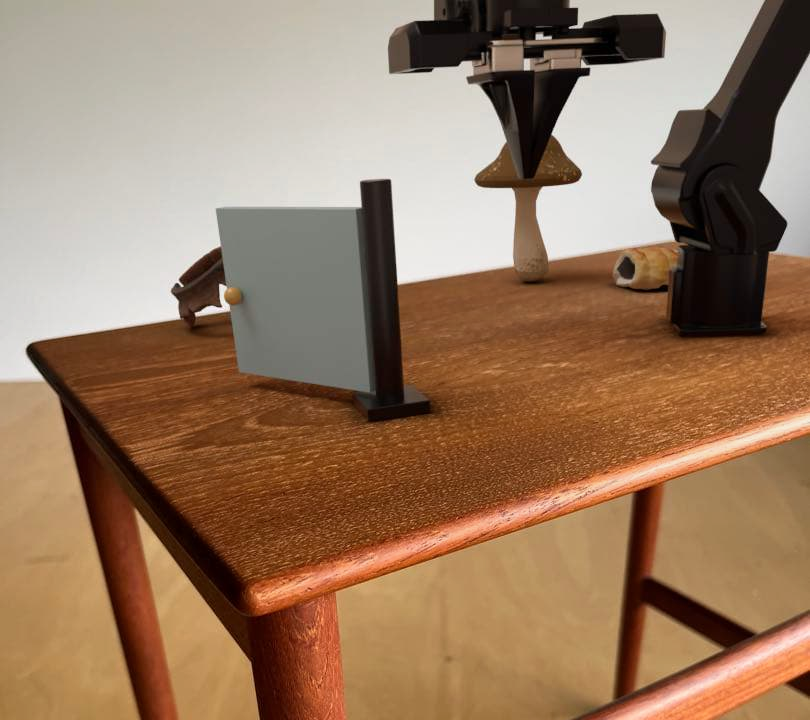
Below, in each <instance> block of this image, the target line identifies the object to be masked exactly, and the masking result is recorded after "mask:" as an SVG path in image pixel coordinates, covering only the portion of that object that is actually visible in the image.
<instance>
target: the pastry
mask: <svg viewBox="0 0 810 720" xmlns="http://www.w3.org/2000/svg"><path fill="white" fill-rule="evenodd" d="M677 259H678V249H674V248H667V247H663V246H661V245H656V246H653V247H641V248H636V247H629V248H624V250H621V251H620V253H619V257H618V259H617V260H616V262H615V264H614V268H613V269H612V271H613V272H612V278H613V279H614V281H615V285H616V286H618V287H620V288H627V287H628V288H631V289H633V290H640V289H641V290H645V291H649V290H652V289H659V288H660V287H661V286H663V285H664V286H665V285H667V286H668V283H669V268H670V267H671V266H672V265H677Z"/></svg>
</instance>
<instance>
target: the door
mask: <svg viewBox="0 0 810 720" xmlns="http://www.w3.org/2000/svg"><path fill="white" fill-rule="evenodd" d="M215 215H216V221H217V228H218V236H219V242H220V246H221V250H222V257H223V264H224V271H225V278H226V285H227V286H226V290H225V291H224V293H223V299H224V301H225V303H226V304H228V305H229V312H230V320H231V325H232V332H233V340H234V347H235V356H236V362H237V368H238V373H240V374H247V375H253V376H260V377H266V378H271V379H272V378H273V379H279V380H286V381H290V382H291V381H292V382H298V383H305V384H311V385H317V386H323V387H330V388H336V389H343V390H349V391H356V392H369V393H371V392H373V391H375V377H374V364H373V351H372V338H371V325H370V311H369V298H368V285H367V272H366V259H365V246H364V232H363V219H362V206H222V207H216V208H215Z"/></svg>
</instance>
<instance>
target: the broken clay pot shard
mask: <svg viewBox="0 0 810 720" xmlns="http://www.w3.org/2000/svg"><path fill="white" fill-rule="evenodd" d="M178 281H179V283H178V282H175V283H174V285H173V286H172V287H171V289H170V293H171V295H172V296H174V298H175V299H176V300H177V301H178V304H177V305H178V306H177V308H178V315H179V320H182V319H183V322H184V323H185V324H187V326H189V328H194V327H195V324H196V320H197V319H196V317H197V316H196V314H197V313H200V312H202V311H203V310H205V309H206V308H208V307H215V308H221V309H222V308H223V304H222V303H221V293H220V285H222V286H225V287H227V285H226V278H225V271H224V264H223V257H222V250H221V245H220V246H218V247H216V248H213V249H212V250H210V251H209V252H207V253H205V254H204V255H203V256H202V257H200V258H199V259H198V260H196V261H195V262H194V263H193V264H192V265H191V266H190V267H189V268H188V269H187V270H185V272H183V273H182V274H181V276H180V277H179V278H178ZM181 285H182V286H181Z"/></svg>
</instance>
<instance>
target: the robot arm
mask: <svg viewBox="0 0 810 720" xmlns="http://www.w3.org/2000/svg"><path fill="white" fill-rule="evenodd" d="M570 3H571V0H433V19H432V20H430V19H429V20H414V21H411V22H407V23H406V24H403V25H400V26H397V27H396V28H395V29H394V30H393V32H392V33H391V34H390V36H389V40H388V45H387V56H388V59H387V60H388V74H389V75H404V74H405V75H408V74H409V75H410V74H428V73H432V72H433V71H434V70H435V69H441V68H443V69H444V68H457V67H460V65H461V64H462V63H464V62H466V63H467V62H471V67H472V72H473V74H472V75H468V76H466V79H465V80H466V83H467V84H468V85H477V86H479V88H480V89H481V90H482V91H483V92H484V94H485V95H486V97H488V99H489V101H490V103H491V105H492V107H493V109H494V111H495V114H496V116H497V118H498V120H499V122H500V123H499V124H500V126H501V129H502V131H503V134H504V135H503V136H504V138H505V142H507V144H508V147H509V150H510V153H511V156H512V159H513V162H514V166H515V169H516V172H517V175H518V177H519V179H523V180H525V179H533V178H534V177H535V174H536V172H537V169H538V167H539V164H540V162H541V159H542V157H543V154H544V152H545V149H546V147H547V144H548V142H549V139H550V137H551V134H552V135H553V132H554V129H555V127H556V124H557V122H558V120H559V117H560V115H561V114H562V111H563V109H564V107H565V106H566V103H567V102H568V100H569V98H570V96H571V95H572V92H573V90H574V88H575V87H576V84H577V83H578V81H579V79H580V78H584V77H589V76H590V75H591V67H582V62H583V63H584V64H585V66H606V65H607V66H609V65H625V64H632V63H639V62H645V61H654V60H660V59H665V54H666V39H667V31H666V28H665V26H664V24H663V21H662V20H661V18H660V16H659V14H658V13H636V14H635V13H633V14H631V13H630V14H629V13H628V14H612V15H608V16H603V17H600V18H596V19H592V20H587V21H584V22H583V24H582V27H575V26H578V25H579V7H570V6H571V5H570ZM573 27H574V28H573ZM537 35H542V37H543V38H547V39H537ZM809 56H810V0H764V1H763V3H762V5H761V6H760V8H759V10H758V12H757V14H756V17H755V19H754V20H753V22H752V24H751V27H750V29H749V30H748V32H747V35H746V36H745V38H744V40H743V42H742V44H741V45H740V48H739V50H738V52H737V54H736V56H735V57H734V60H733V61H732V63H731V66H730V68H729V69H728V72H727V73H726V75H725V77H724V79H723V81H722V83H721V85H720V87H719V89H718V90H717V92H716V93H715V95H713V97H712V98H711V100H710V101H709V102H707V104H706V105H705V106H704V107H703V108H699V109H698V108H697V109H696V108H695V109H680V110H678V111H677V113H676V114H675V116H674V118H673V121H672V123H671V127H670V130H669V132H668V135H667V138H666V140H665V143H664V144H663V146H662V148H661V149H660V151H659V152H658V153H657V154H656V155H655V156H654V157H653V158H652V159H651V160H650V164H651V165H654V166H657V167H656V169H655V171H654V175H653V177H652V179H651V185H650V192H651V195H652V199H653V203H654V206H655V208H656V210H657V211H658V212H659V214H660V216H661V217H663V218H664V219H665V220H667V221H668V222H669V224H670V228H671V232H672V235H673V238H674V241H675V242H676V243H679V244H680V243H681V244H682V245H678V246H677V250H678V259H677V265H672V266H671V267H670V268H669V283H668V285H667V299H666V312H665V316H666V318H667V320H668V321H669V323H670V324H672V327H673V328H674V329H675V330H676V332H677V333H678V335H680V336H712V335H715V336H716V335H743V334H744V335H748V334H749V335H750V334H766V333H767V330H768V326H767V324H766V323H764V322H763V321H762V318H763V312H764V311H763V310H764V302H765V292H766V285H767V276H768V275H767V274H768V267H769V256H770V253H773V252H776V251H777V250H778V248H779V245H780V244H781V241H782V239H783V236H784V234H785V232H786V230H787V227H788V221H787V219H786V218H785V217H784V216H783V215H782V214H781V212H779V210H778V209H777V208H776V207H775V206H774V205H773V204H772V203H771V202H770V200H769V199H768V198H767V196H765V194H764V193H763V192H762V191H761V190H760V189H761V187H762V184H763V181H764V178H765V175H766V173H767V171H768V168H769V165H770V163H771V160H772V154H773V146H774V140H775V139H774V138H775V131H776V130H775V129H776V123H777V118H778V115H779V113H780V110H781V109H782V106H783V104H784V102H785V101H786V99H787V97H788V95H789V93H790V92H791V90H792V87H793V86H794V84H795V82H796V81H797V78H798V76H799V75H800V73H801V71H802V69H803V67H804V65H805V64H806V62H807V60H808V58H809ZM525 60H529V69H524V68H525Z"/></svg>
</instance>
